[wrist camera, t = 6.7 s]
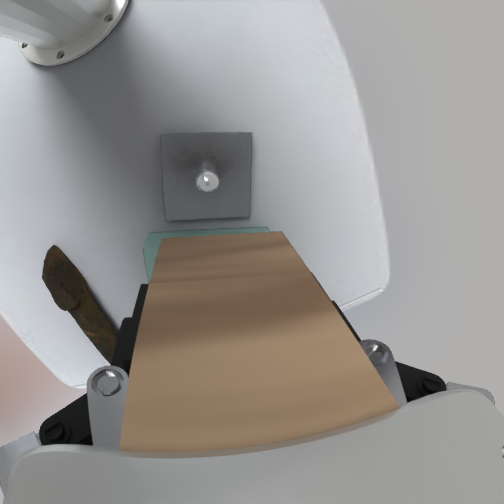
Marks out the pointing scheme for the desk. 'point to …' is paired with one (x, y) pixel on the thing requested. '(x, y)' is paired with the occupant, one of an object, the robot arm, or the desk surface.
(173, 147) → the stud base
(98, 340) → the hand tool
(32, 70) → the desk surface
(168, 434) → the brown wooden block
